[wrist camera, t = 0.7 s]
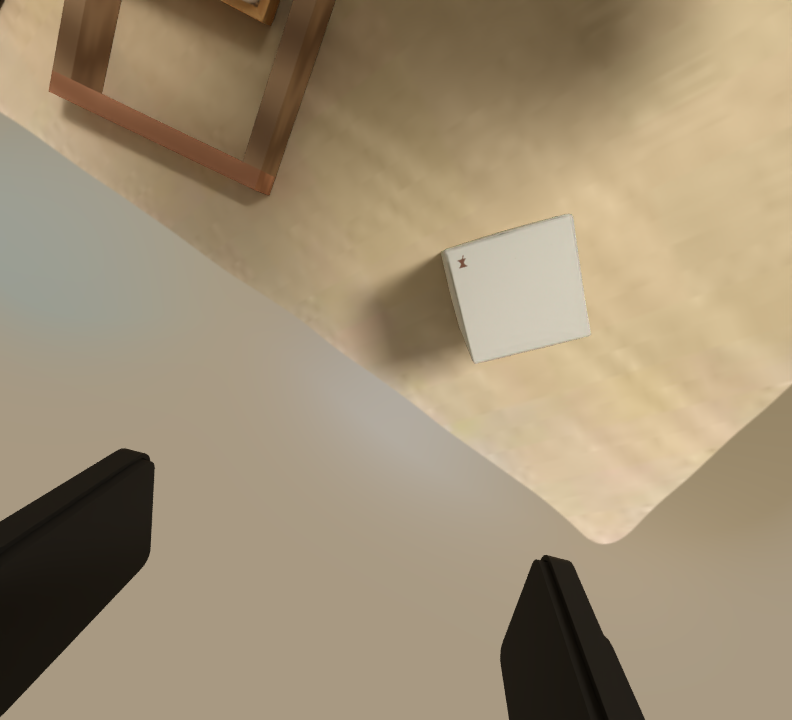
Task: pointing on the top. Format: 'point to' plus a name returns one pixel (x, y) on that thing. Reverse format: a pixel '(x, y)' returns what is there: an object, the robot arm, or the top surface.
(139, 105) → the top surface
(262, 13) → the soap dish
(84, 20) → the bay
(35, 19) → the top surface
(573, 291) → the supplement box
